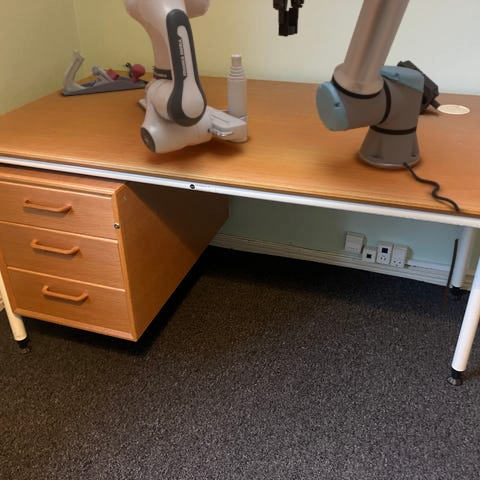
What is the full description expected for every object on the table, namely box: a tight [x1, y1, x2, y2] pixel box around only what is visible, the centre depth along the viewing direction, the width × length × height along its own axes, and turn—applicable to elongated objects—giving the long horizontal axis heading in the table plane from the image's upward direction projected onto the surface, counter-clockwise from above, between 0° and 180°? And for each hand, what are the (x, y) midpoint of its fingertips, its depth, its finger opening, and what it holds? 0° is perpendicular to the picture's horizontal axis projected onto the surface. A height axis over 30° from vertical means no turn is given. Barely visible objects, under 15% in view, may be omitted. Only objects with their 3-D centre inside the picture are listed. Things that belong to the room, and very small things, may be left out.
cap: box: [288, 24, 296, 36], centre depth 146 cm, size 4×4×2 cm
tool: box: [396, 59, 442, 114], centre depth 170 cm, size 6×19×15 cm, turn 51°
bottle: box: [226, 54, 248, 143], centre depth 147 cm, size 5×5×23 cm
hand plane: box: [61, 48, 146, 96], centre depth 194 cm, size 7×31×15 cm, turn 107°
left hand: (240, 115), depth 150 cm, fingers closed on bottle, 5 cm apart
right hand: (288, 34), depth 147 cm, fingers closed on cap, 4 cm apart
